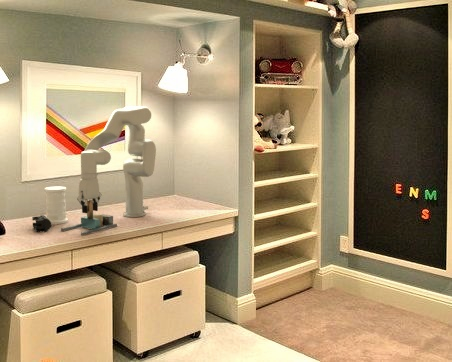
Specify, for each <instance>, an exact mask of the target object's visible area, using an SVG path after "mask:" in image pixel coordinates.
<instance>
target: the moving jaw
mask: <svg viewBox="0 0 452 362" xmlns="http://www.w3.org/2000/svg"><path fill="white" fill-rule="evenodd" d="M86 205H87V211H88V213H86V215H84V216H81V217H80V224H81V227H80V228H84V229H89V230H92V229H96V228H100V219H97V218H93V214H94V211H93V200H92V199H89V200H87V204H86Z"/></svg>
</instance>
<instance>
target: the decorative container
mask: <svg viewBox="0 0 452 362" xmlns="http://www.w3.org/2000/svg"><path fill="white" fill-rule="evenodd" d="M66 191H67V187H66V186H59V185H58V186H48V187H44V192H45V199H46V200H45V204H46V206H45V209H46V214H45V216H46V217H47V218H48V219H49V220H50V222H51V225H61V224H62V225H63V224H67V223H68V222H69V219H68V217H67V206H66V203H67V200H66V196H67V195H66Z"/></svg>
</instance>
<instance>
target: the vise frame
mask: <svg viewBox="0 0 452 362" xmlns="http://www.w3.org/2000/svg"><path fill="white" fill-rule="evenodd" d="M101 214H102V215H103V227H100V228H96V229H89V230H86V231H85V230H84V231H82V232H80V235H81V236H86V235H89V234H93V233H97V232H101V231H104V230H108V229H112V228H115V227H118V224H117V223H114V215H110V214H104V213H101ZM77 228H82V227H81V223H78V224H74V225H70V226H65V227H61V228H60V231H61V232H65V231H70V230H74V229H77Z"/></svg>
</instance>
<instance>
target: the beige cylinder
mask: <svg viewBox="0 0 452 362" xmlns="http://www.w3.org/2000/svg"><path fill="white" fill-rule="evenodd" d="M102 214H103V213H93V218H97V219H100V227H104V226H103V215H102Z"/></svg>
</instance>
